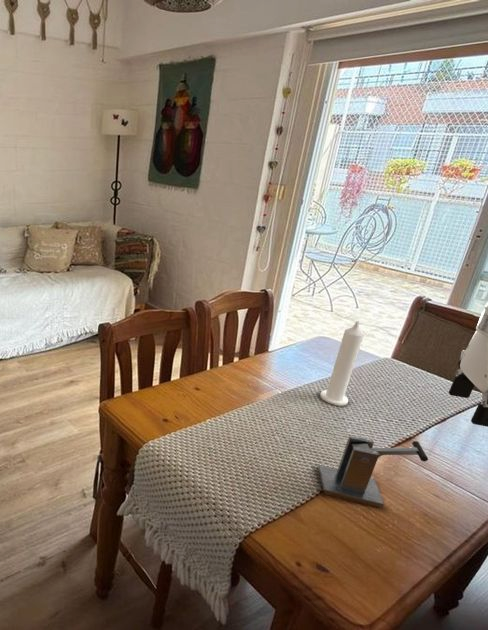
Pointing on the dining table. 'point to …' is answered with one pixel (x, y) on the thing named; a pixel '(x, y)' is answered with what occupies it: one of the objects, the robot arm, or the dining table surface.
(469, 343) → the robot arm
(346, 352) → the candle
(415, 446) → the press lever
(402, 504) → the dining table surface
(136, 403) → the dining table surface
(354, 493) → the press bracket
